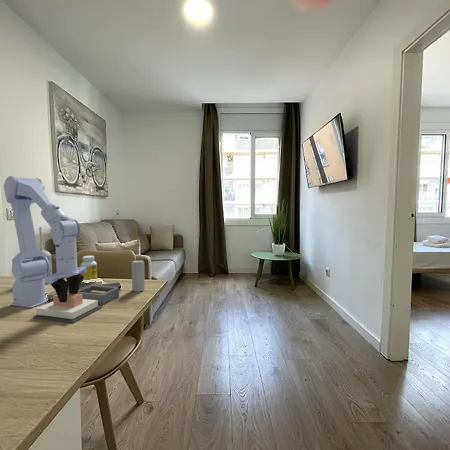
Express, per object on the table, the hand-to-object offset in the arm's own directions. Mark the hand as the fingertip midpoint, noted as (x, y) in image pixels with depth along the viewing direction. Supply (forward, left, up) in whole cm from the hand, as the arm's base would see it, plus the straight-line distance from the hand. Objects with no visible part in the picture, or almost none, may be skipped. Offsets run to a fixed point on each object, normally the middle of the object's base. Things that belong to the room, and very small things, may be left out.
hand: (68, 299), depth 86 cm
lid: (0, 0, -3) cm, 4 cm away
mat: (0, 0, -4) cm, 4 cm away
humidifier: (-38, +25, -4) cm, 46 cm away
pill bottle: (-19, +31, -4) cm, 37 cm away
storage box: (0, +13, -4) cm, 14 cm away
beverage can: (+9, +26, -4) cm, 28 cm away
